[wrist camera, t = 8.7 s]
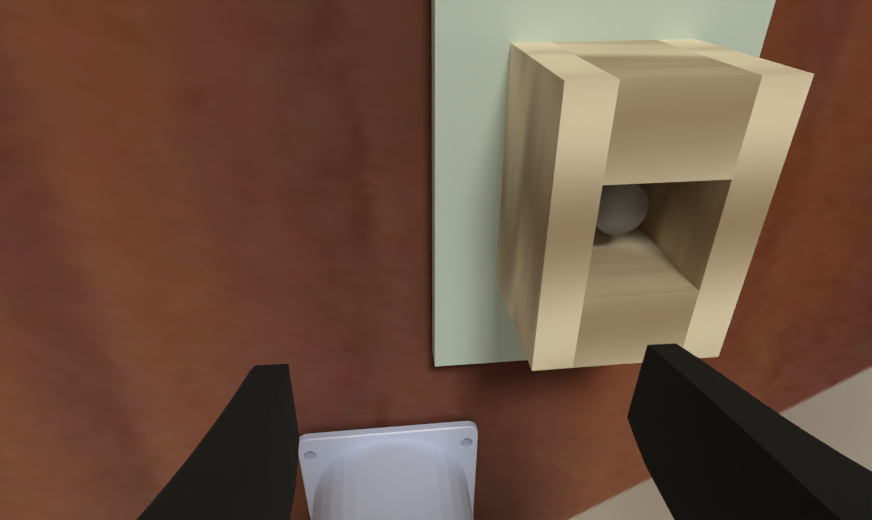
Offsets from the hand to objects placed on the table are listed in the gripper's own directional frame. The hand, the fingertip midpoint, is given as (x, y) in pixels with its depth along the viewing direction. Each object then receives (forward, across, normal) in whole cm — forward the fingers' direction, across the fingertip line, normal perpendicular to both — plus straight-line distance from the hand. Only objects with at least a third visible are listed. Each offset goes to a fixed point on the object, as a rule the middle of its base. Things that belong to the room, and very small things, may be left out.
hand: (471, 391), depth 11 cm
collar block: (+8, -5, -2) cm, 10 cm away
